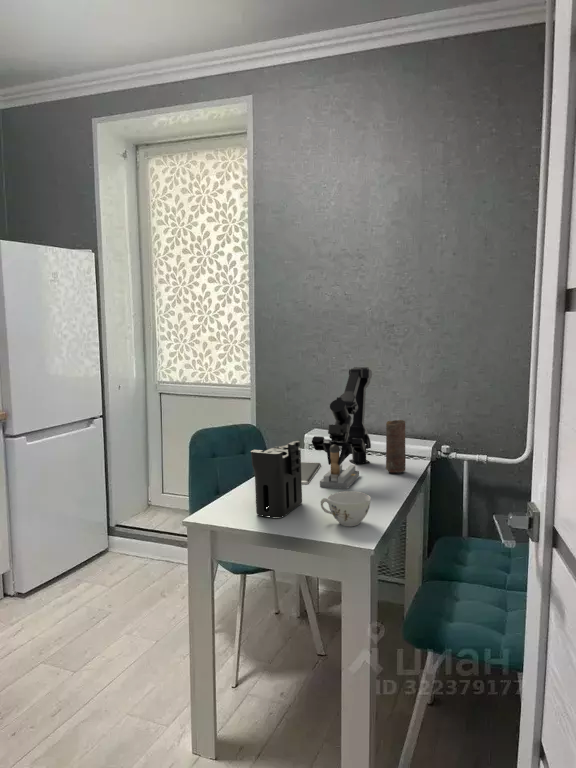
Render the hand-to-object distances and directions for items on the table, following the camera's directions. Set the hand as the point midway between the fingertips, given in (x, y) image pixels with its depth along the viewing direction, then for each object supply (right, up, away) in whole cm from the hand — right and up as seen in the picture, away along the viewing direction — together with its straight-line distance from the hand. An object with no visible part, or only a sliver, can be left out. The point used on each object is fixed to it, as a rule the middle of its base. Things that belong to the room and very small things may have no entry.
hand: (334, 464), depth 205 cm
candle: (+25, -6, +17) cm, 31 cm away
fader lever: (+1, -6, +2) cm, 6 cm away
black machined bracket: (-17, -11, -21) cm, 29 cm away
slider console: (+3, -7, +8) cm, 11 cm away
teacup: (+1, -12, -35) cm, 37 cm away
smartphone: (-12, -7, +20) cm, 24 cm away
